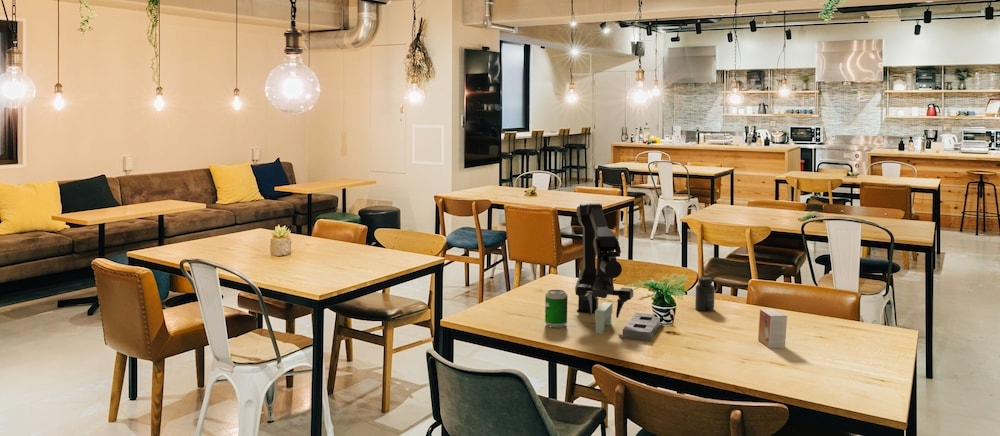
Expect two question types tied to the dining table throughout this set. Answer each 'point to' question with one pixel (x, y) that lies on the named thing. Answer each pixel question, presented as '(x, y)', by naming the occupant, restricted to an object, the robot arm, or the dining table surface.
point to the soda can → (556, 308)
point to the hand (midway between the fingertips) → (603, 316)
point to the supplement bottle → (705, 295)
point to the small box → (772, 328)
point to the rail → (641, 327)
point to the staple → (603, 316)
